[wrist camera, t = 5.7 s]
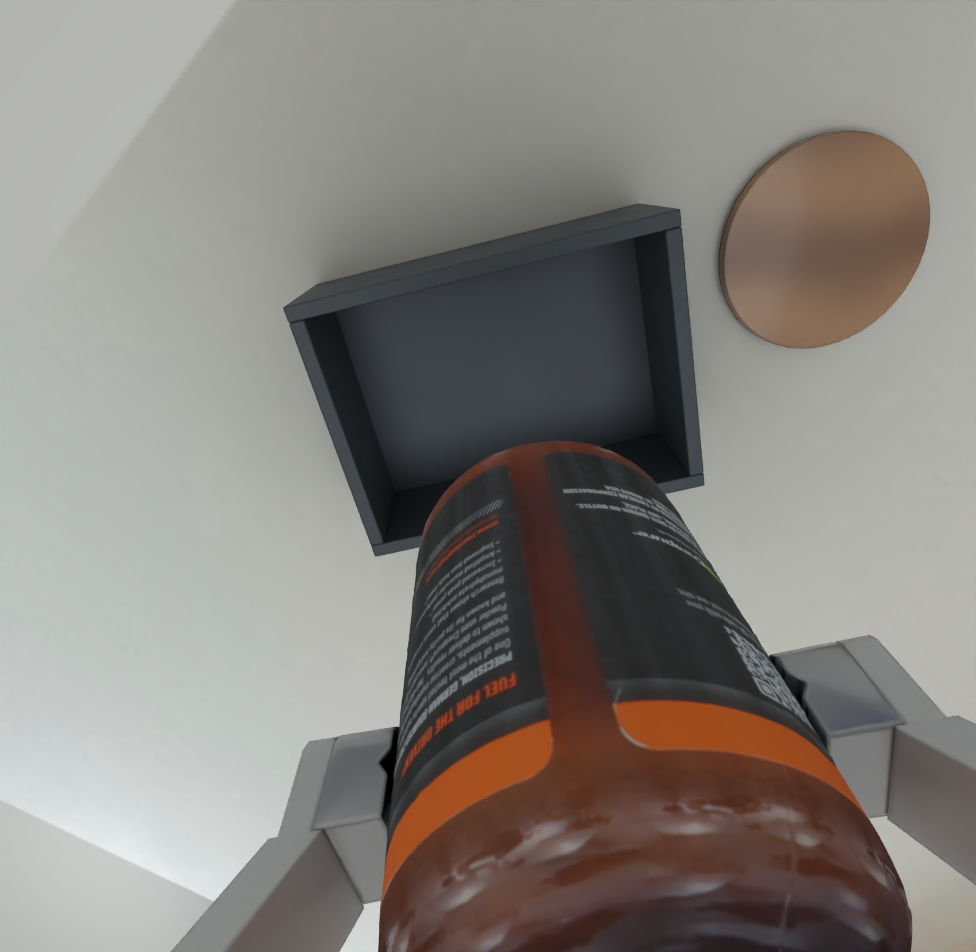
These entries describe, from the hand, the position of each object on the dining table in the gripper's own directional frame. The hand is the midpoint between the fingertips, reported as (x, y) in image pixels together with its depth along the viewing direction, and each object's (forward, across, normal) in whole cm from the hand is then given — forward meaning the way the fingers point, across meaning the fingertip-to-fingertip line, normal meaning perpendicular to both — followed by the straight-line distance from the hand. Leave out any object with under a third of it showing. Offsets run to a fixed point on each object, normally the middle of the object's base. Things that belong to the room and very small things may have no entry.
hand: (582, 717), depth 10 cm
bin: (+22, 0, 0) cm, 22 cm away
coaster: (+22, -15, -2) cm, 26 cm away
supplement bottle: (+5, 0, 0) cm, 5 cm away
